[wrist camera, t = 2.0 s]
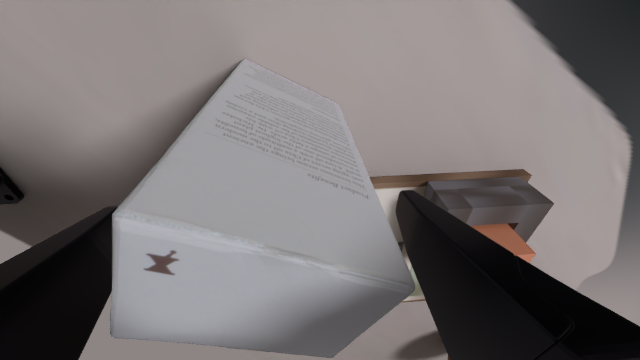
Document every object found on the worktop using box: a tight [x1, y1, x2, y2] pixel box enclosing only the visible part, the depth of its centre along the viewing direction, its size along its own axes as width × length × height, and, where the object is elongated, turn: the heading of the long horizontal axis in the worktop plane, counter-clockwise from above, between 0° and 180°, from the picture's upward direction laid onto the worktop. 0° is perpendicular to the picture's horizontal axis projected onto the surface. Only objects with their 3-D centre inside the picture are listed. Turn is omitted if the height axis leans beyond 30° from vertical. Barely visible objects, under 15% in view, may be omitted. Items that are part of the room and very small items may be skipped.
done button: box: [471, 223, 536, 263], centre depth 17 cm, size 3×3×3 cm
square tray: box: [370, 169, 554, 302], centre depth 22 cm, size 18×17×4 cm
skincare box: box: [110, 59, 415, 358], centre depth 10 cm, size 6×4×12 cm
